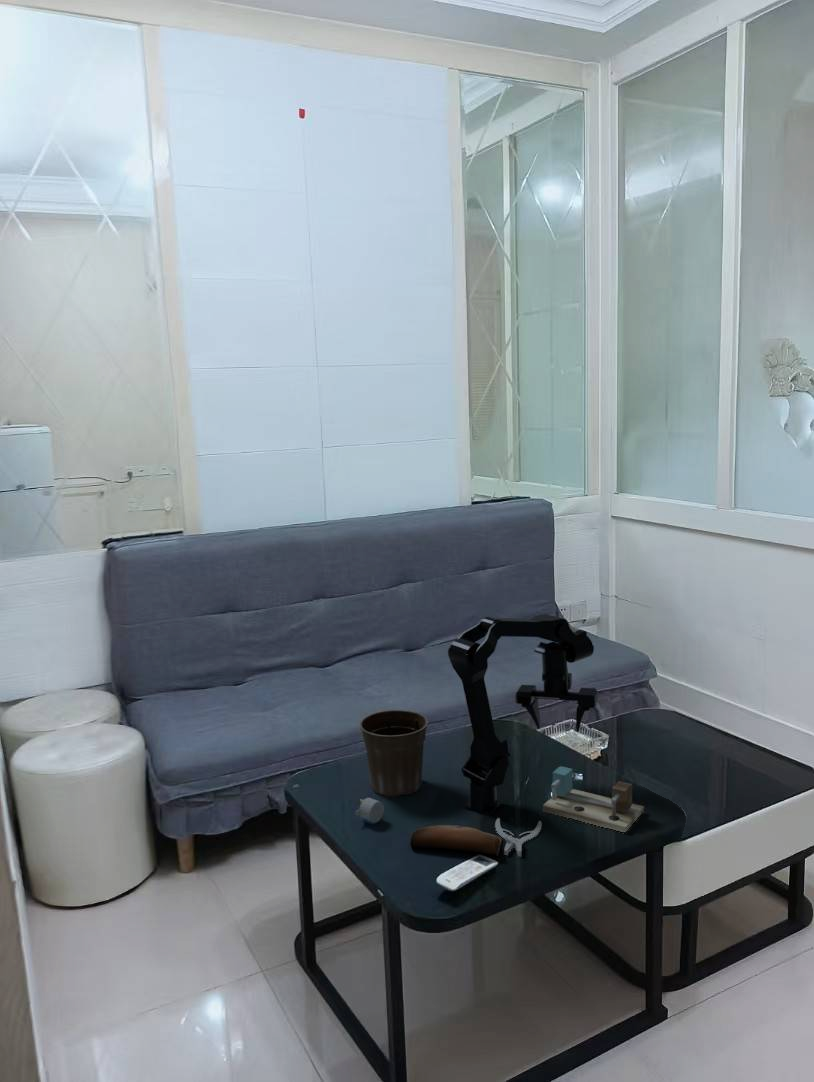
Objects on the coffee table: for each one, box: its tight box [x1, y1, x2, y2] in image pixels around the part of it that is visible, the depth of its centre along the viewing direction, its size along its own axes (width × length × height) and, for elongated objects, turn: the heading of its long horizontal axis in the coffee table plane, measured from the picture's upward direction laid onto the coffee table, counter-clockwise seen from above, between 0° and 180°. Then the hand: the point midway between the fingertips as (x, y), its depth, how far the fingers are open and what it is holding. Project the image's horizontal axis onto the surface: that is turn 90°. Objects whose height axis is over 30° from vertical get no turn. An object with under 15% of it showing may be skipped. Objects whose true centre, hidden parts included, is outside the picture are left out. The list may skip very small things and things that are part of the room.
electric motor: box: [355, 797, 385, 826], centre depth 189 cm, size 7×5×5 cm
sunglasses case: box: [410, 824, 503, 857], centre depth 177 cm, size 18×7×7 cm, turn 75°
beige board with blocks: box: [542, 780, 645, 833], centre depth 189 cm, size 11×19×7 cm, turn 55°
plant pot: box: [359, 709, 429, 798], centre depth 204 cm, size 16×16×16 cm
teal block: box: [550, 765, 573, 800], centre depth 193 cm, size 7×3×5 cm, turn 145°
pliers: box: [494, 817, 543, 858], centre depth 179 cm, size 10×2×15 cm
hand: (558, 729), depth 205 cm, fingers open, 9 cm apart
